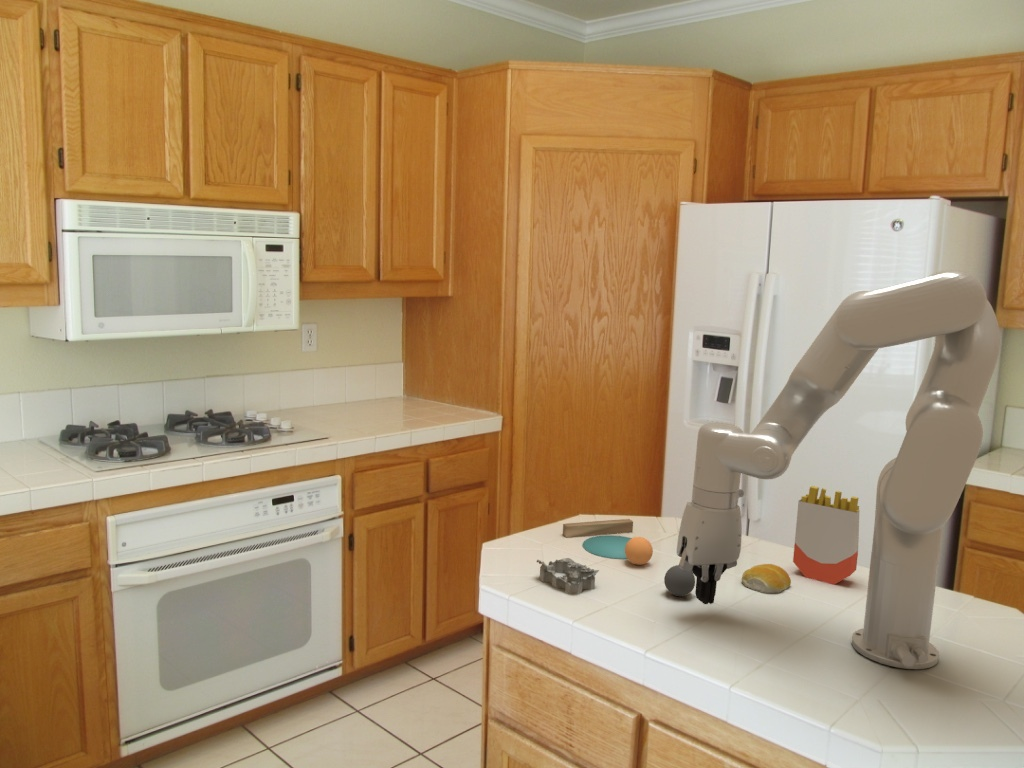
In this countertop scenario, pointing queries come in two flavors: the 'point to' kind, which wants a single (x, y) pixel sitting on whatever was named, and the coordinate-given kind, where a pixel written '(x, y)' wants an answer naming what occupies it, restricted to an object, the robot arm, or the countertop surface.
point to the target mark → (607, 546)
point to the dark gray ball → (679, 581)
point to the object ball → (638, 550)
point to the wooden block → (597, 528)
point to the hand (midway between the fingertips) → (704, 600)
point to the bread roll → (766, 578)
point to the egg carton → (568, 575)
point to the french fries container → (826, 536)
